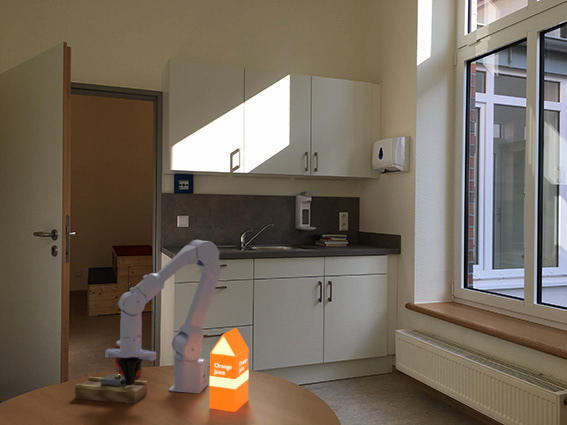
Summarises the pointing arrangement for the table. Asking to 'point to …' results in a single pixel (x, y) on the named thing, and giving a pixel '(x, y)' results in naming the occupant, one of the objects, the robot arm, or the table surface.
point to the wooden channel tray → (110, 391)
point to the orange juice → (229, 372)
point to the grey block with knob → (114, 380)
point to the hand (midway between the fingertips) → (130, 384)
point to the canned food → (118, 368)
